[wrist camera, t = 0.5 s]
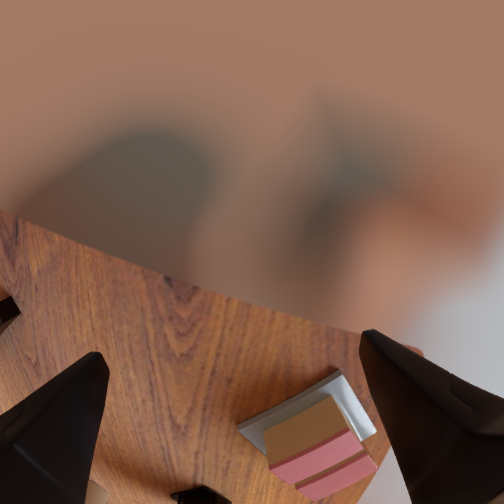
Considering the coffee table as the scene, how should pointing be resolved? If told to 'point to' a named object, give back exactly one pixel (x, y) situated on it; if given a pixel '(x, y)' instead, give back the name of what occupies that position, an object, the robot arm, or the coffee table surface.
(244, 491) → the coffee table surface
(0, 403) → the coffee table surface
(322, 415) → the cake slice
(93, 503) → the coffee cup
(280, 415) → the cake plate
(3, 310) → the knife
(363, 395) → the coffee table surface
